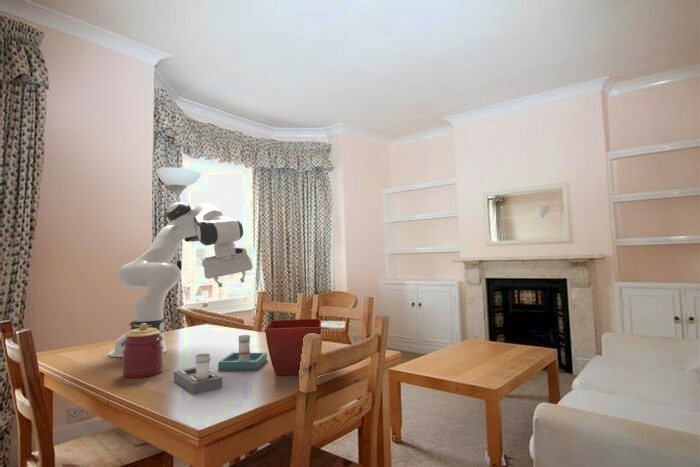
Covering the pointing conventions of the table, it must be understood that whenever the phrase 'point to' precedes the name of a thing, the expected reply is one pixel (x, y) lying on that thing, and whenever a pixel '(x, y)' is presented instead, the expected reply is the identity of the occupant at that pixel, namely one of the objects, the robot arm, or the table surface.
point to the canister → (142, 352)
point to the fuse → (202, 366)
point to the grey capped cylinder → (244, 348)
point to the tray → (242, 362)
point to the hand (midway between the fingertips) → (231, 284)
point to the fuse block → (191, 384)
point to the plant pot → (288, 343)
